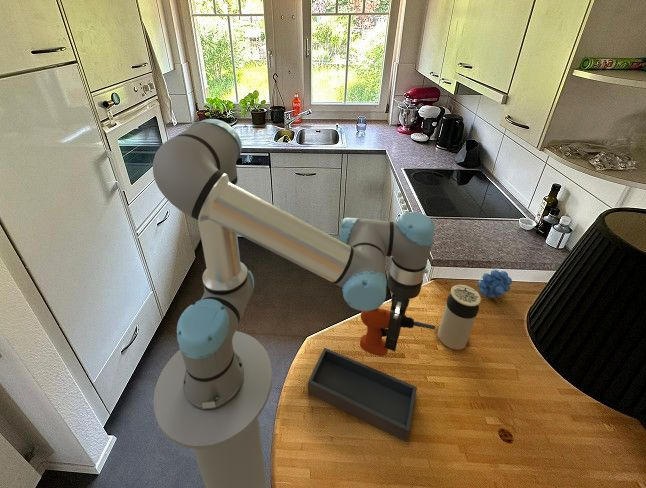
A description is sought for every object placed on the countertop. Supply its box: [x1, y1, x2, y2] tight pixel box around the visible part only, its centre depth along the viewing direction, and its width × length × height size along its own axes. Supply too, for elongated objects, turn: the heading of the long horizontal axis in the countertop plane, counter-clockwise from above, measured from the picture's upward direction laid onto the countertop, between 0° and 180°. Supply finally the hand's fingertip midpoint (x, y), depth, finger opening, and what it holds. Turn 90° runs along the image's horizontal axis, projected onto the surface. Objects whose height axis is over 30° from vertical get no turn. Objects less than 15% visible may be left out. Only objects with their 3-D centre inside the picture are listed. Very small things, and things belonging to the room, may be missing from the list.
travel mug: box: [437, 284, 482, 351], centre depth 92 cm, size 8×8×18 cm
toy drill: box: [359, 307, 436, 357], centre depth 83 cm, size 5×19×15 cm, turn 71°
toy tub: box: [307, 347, 418, 442], centre depth 81 cm, size 25×11×5 cm, turn 64°
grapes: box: [477, 269, 513, 299], centre depth 106 cm, size 12×7×12 cm, turn 95°
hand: (391, 341), depth 85 cm, fingers closed on toy drill, 3 cm apart
